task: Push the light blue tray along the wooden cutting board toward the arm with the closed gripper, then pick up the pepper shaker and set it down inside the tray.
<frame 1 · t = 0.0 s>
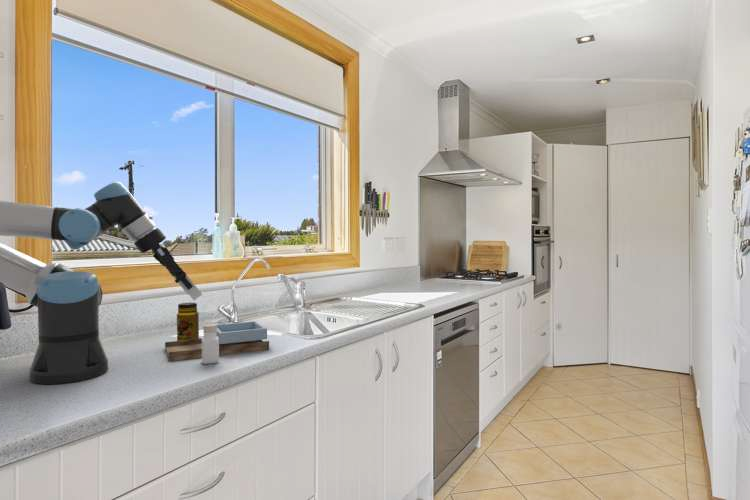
hand: (194, 294, 131), 15 cm above the worktop, tool tilted 35°, fingers open, 13 cm apart
condiment: (188, 343, 138), on the worktop
wooden cutting board: (217, 349, 129), on the worktop
pepper shaker: (210, 363, 116), on the worktop
light blue tray: (238, 334, 132), point 3 cm above the worktop, slide at 6.0 cm
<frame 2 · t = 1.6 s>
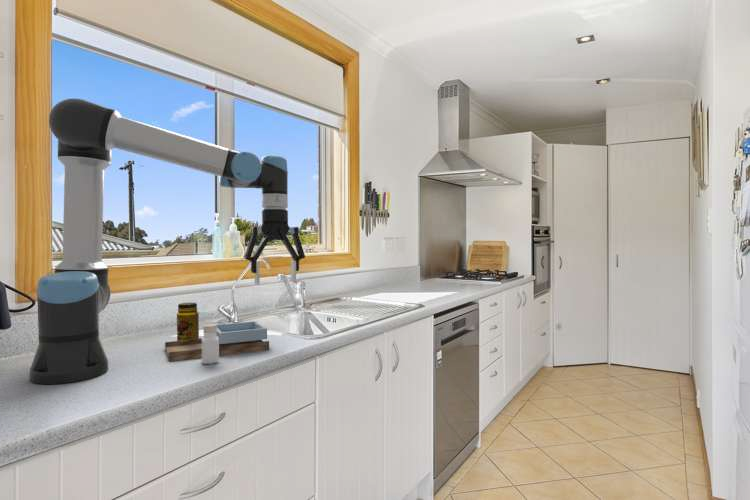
hand: (275, 283, 137), 18 cm above the worktop, tool pointing down, fingers open, 10 cm apart
nothing on the worktop moved.
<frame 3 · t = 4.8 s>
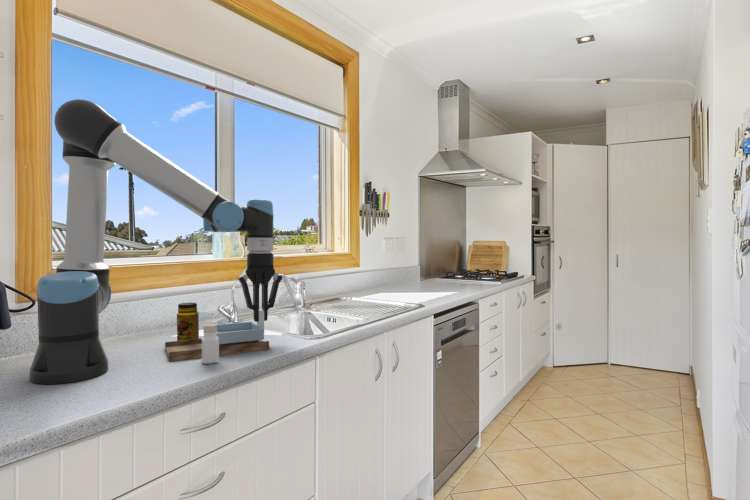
hand: (260, 332, 135), 4 cm above the worktop, tool pointing down, fingers closed
light blue tray: (235, 335, 132), point 3 cm above the worktop, slide at 5.1 cm, touching gripper
everything else where it was.
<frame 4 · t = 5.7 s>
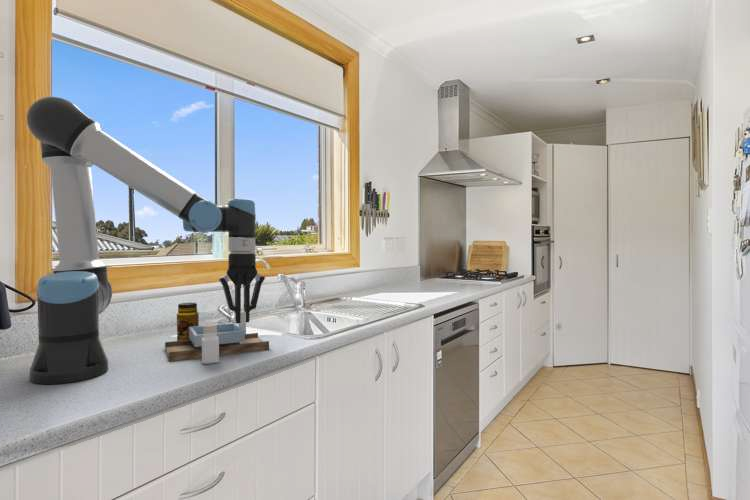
hand: (242, 333, 133), 4 cm above the worktop, tool pointing down, fingers closed
light blue tray: (216, 337, 129), point 4 cm above the worktop, slide at -0.2 cm, touching gripper
everything else where it was.
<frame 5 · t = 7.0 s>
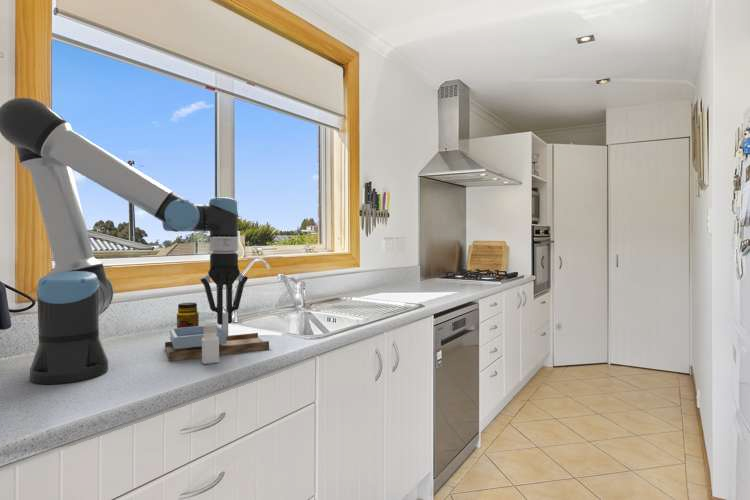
hand: (224, 335, 130), 4 cm above the worktop, tool pointing down, fingers closed
light blue tray: (197, 339, 127), point 3 cm above the worktop, slide at -5.2 cm, touching gripper
everything else where it was.
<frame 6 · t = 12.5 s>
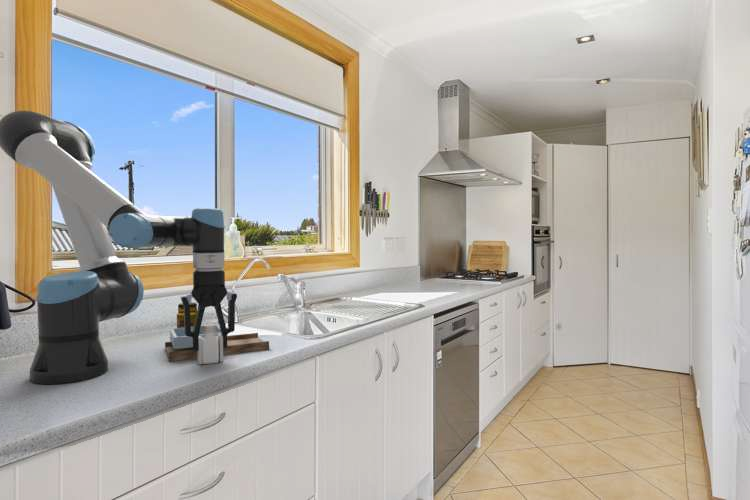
hand: (210, 361, 116), 0 cm above the worktop, tool pointing down, fingers closed on pepper shaker, 4 cm apart
pepper shaker: (210, 362, 116), on the worktop, touching gripper
light blue tray: (197, 339, 127), point 3 cm above the worktop, slide at -5.2 cm
everything else where it was.
when the fingers open (5 cm above the worktop, at t = 17.0 s): pepper shaker drops 1 cm, resting on light blue tray.
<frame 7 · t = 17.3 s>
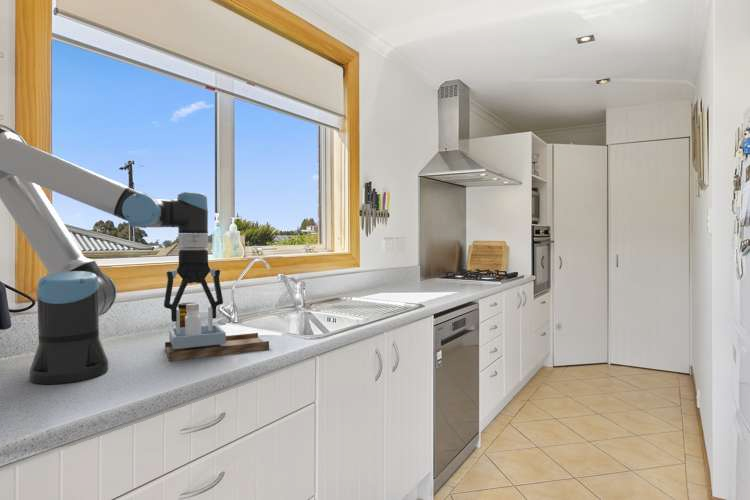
hand: (194, 331, 126), 6 cm above the worktop, tool pointing down, fingers open, 8 cm apart
pepper shaker: (193, 339, 127), point 4 cm above the worktop, touching light blue tray
light blue tray: (196, 339, 127), point 3 cm above the worktop, slide at -5.4 cm, touching pepper shaker
everything else where it was.
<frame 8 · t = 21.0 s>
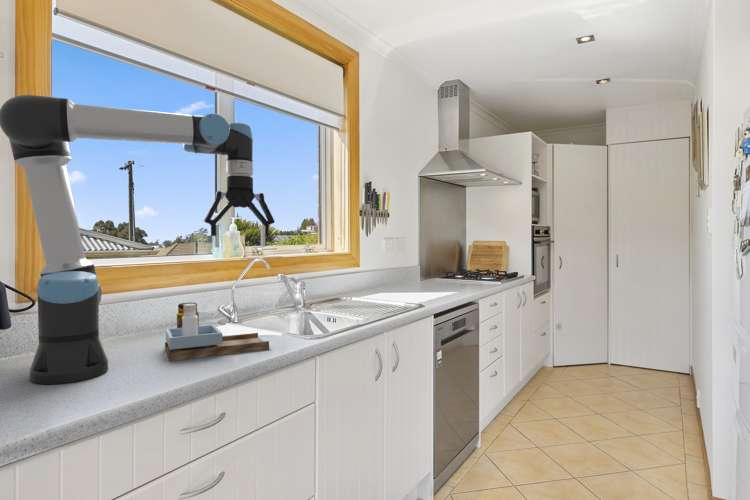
hand: (240, 247, 138), 29 cm above the worktop, tool pointing down, fingers open, 13 cm apart
light blue tray: (193, 339, 126), point 3 cm above the worktop, slide at -6.3 cm, touching pepper shaker
everything else where it was.
at the end: light blue tray slide at -6.3 cm; pepper shaker inside the target area on the light blue tray (0.9 cm from its centre), point 3.5 cm above the light blue tray's base; pepper shaker tilted 0° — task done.
